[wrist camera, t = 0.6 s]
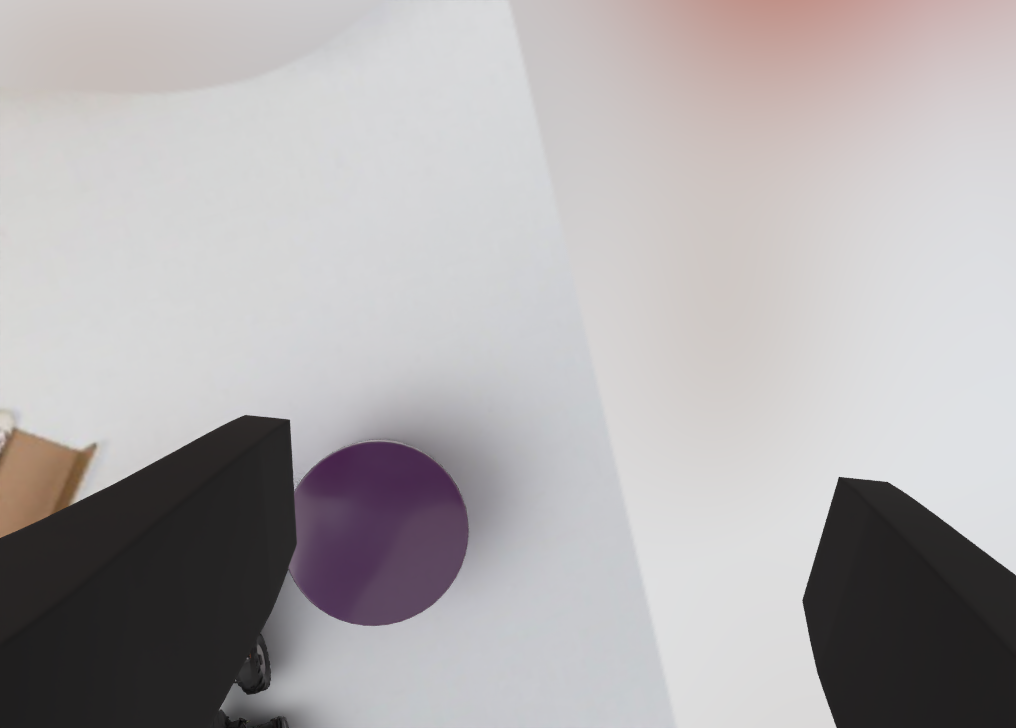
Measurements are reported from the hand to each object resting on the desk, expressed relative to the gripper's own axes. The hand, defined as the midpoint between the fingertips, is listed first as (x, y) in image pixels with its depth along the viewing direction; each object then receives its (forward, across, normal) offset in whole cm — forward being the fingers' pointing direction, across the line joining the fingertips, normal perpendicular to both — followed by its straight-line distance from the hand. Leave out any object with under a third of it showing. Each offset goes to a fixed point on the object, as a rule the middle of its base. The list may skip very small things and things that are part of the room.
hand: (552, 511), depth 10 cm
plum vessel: (+17, +6, +13) cm, 22 cm away
